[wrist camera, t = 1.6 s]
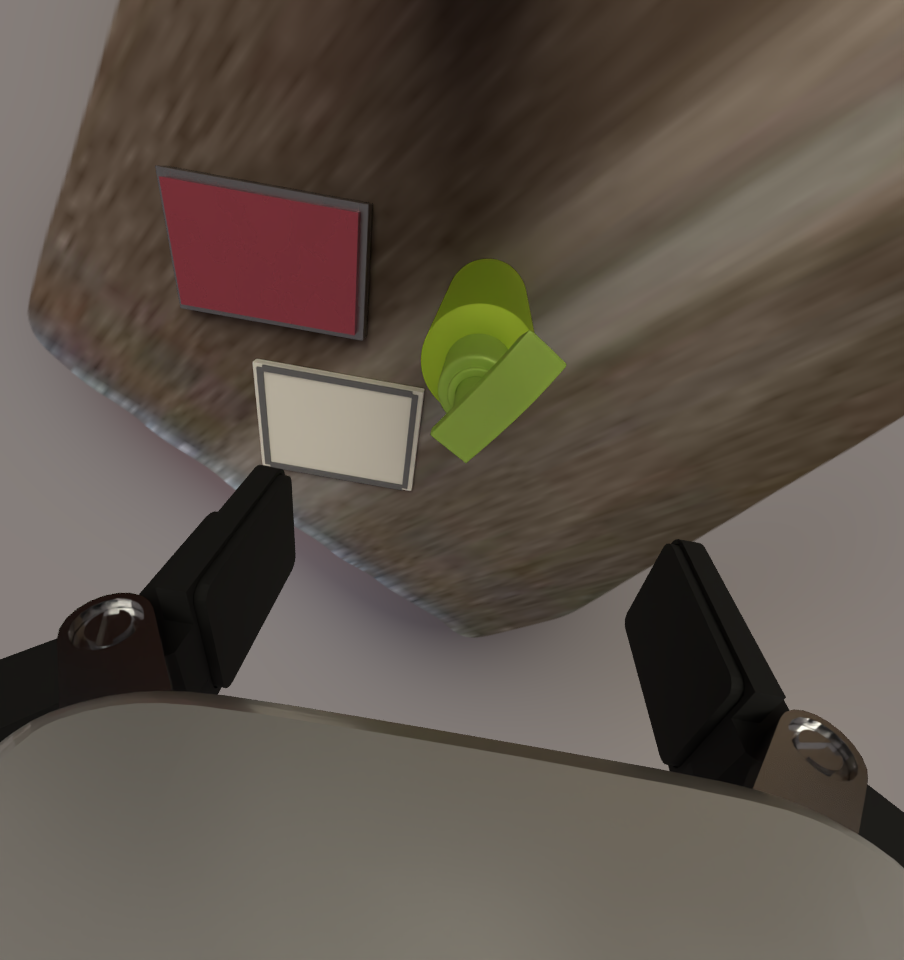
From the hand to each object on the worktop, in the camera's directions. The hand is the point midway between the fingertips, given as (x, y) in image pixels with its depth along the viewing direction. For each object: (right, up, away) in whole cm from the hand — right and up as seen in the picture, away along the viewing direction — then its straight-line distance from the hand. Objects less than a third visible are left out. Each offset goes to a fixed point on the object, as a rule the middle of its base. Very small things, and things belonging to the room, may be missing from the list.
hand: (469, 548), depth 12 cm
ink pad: (-13, +18, +22) cm, 31 cm away
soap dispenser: (+2, +15, +22) cm, 27 cm away
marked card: (-10, +6, +29) cm, 32 cm away
